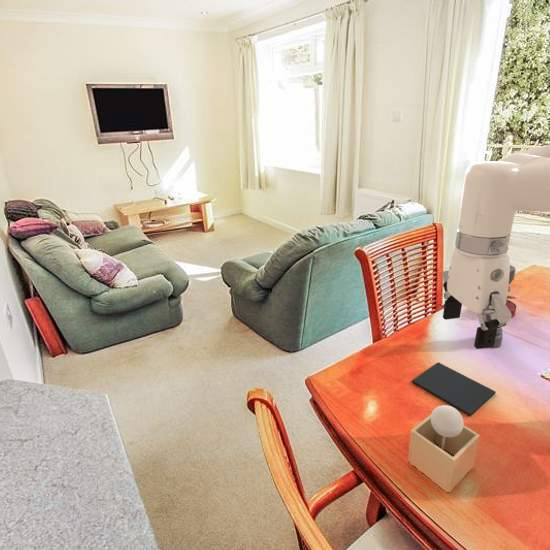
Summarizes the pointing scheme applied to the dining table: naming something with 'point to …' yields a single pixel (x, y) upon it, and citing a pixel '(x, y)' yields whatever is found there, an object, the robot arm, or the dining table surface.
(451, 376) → the mat
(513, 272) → the candle holder
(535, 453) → the dining table surface
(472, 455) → the box
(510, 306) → the canned food
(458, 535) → the dining table surface
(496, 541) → the dining table surface
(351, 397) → the dining table surface
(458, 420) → the lollipop
